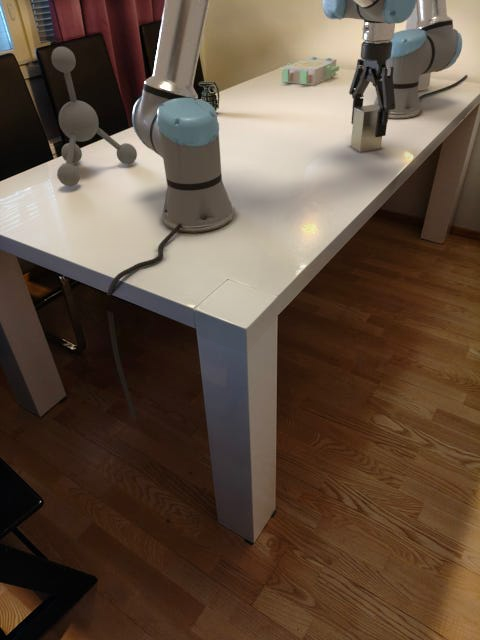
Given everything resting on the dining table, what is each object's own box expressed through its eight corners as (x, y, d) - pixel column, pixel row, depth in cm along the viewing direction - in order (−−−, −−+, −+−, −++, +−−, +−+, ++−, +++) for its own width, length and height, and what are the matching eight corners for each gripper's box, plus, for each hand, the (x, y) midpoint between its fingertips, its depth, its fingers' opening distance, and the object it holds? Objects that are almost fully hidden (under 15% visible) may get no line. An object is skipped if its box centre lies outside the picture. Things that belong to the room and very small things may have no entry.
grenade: (199, 115, 171) (196, 84, 165) (204, 110, 175) (201, 80, 169) (217, 115, 170) (215, 84, 164) (221, 111, 174) (219, 80, 168)
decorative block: (304, 55, 215) (345, 58, 206) (303, 71, 219) (344, 74, 210) (272, 66, 199) (316, 70, 190) (273, 83, 203) (315, 88, 194)
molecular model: (148, 176, 128) (126, 47, 109) (62, 192, 122) (23, 59, 103) (130, 150, 145) (108, 34, 127) (54, 163, 139) (20, 44, 121)
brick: (371, 143, 140) (375, 104, 134) (380, 148, 136) (386, 108, 130) (350, 146, 139) (354, 107, 132) (359, 152, 135) (364, 112, 128)
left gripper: (340, 36, 130) (335, 119, 143) (390, 49, 111) (379, 144, 124) (365, 33, 131) (358, 116, 145) (419, 46, 113) (404, 140, 126)
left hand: (367, 129), depth 134 cm, fingers open, 12 cm apart
